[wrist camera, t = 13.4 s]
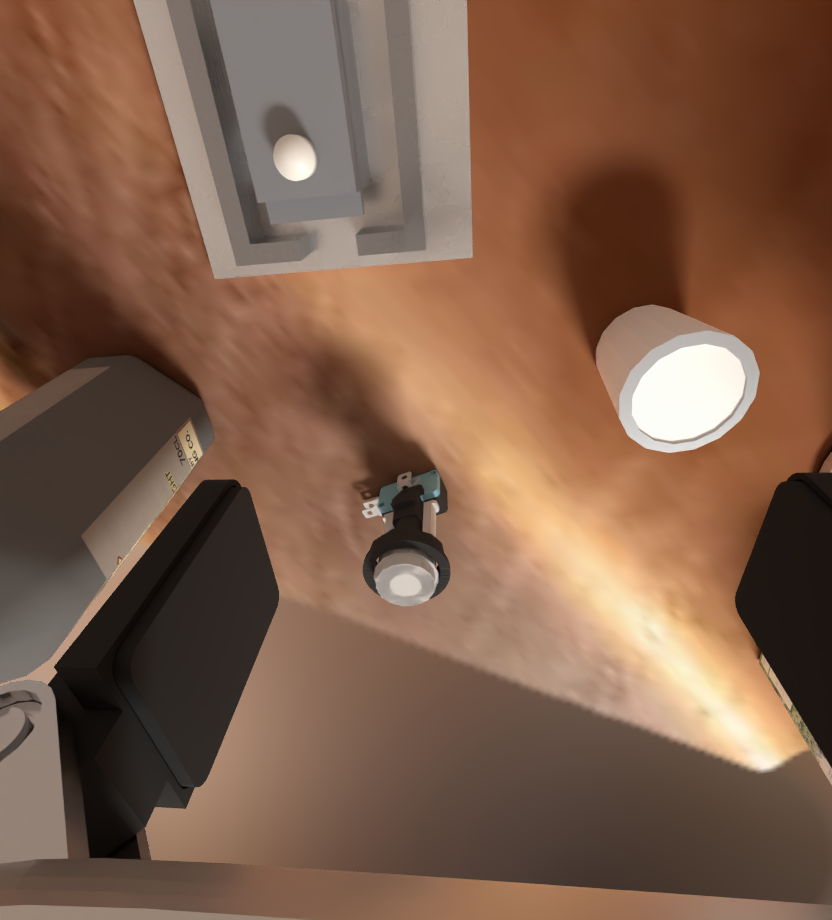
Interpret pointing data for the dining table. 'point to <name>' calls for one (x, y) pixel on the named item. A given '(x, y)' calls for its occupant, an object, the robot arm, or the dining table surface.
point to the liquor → (84, 492)
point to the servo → (297, 104)
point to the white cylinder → (675, 378)
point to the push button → (408, 541)
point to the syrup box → (796, 718)
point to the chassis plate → (386, 131)
